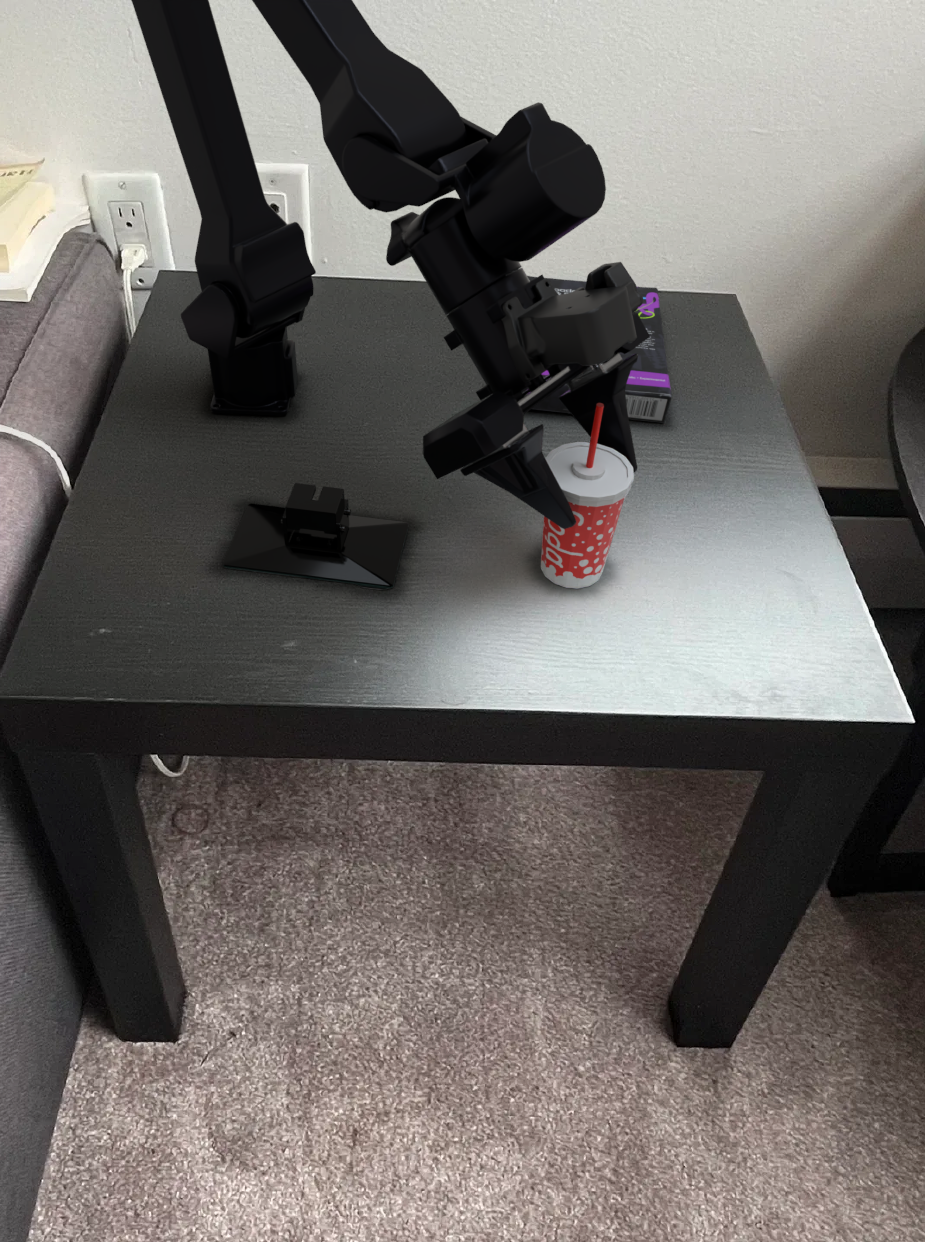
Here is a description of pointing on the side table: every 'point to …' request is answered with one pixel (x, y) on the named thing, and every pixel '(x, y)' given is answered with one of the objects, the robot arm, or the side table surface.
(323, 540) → the build plate
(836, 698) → the side table surface
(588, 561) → the beverage cup
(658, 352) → the box
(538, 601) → the side table surface
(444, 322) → the side table surface
